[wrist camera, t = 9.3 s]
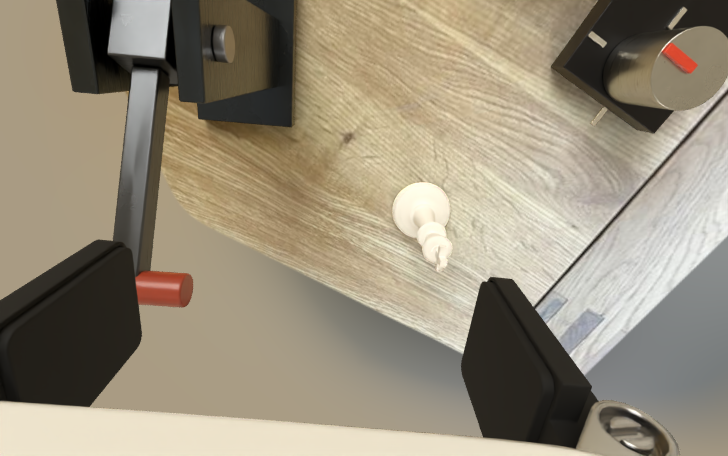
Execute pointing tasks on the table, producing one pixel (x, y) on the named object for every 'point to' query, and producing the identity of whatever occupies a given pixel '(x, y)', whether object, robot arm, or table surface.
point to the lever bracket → (200, 56)
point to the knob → (668, 68)
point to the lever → (145, 139)
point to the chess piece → (425, 220)
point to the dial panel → (615, 24)
